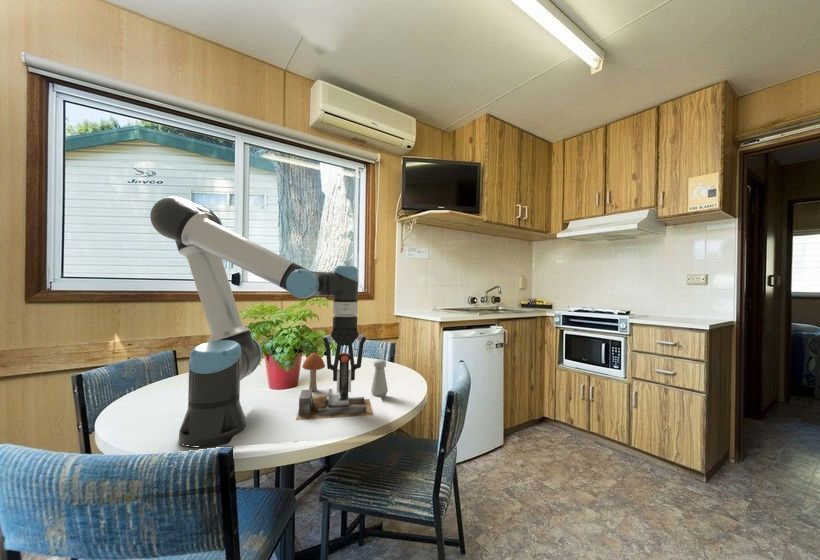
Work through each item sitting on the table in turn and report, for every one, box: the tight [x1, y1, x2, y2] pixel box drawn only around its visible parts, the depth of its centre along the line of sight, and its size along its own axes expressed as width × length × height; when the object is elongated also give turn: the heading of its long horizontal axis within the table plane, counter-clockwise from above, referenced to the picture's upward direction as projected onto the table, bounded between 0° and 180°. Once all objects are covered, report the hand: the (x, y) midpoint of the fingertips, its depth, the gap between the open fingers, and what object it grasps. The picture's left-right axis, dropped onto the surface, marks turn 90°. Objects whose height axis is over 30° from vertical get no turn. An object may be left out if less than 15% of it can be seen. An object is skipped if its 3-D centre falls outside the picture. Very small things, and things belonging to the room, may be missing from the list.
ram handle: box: [327, 352, 350, 408], centre depth 105 cm, size 6×6×17 cm
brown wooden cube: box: [312, 393, 328, 412], centre depth 103 cm, size 4×4×4 cm
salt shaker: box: [370, 359, 389, 399], centre depth 119 cm, size 6×6×13 cm
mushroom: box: [301, 351, 326, 393], centre depth 121 cm, size 8×8×15 cm
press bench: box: [295, 389, 375, 421], centre depth 104 cm, size 22×14×6 cm, turn 102°
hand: (343, 390), depth 105 cm, fingers closed on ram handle, 3 cm apart
